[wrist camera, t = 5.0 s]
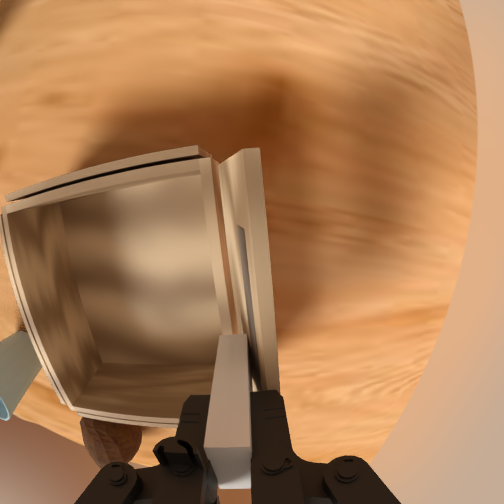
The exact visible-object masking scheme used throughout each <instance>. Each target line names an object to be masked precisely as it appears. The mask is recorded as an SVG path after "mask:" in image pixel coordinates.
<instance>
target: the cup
mask: <svg viewBox="0 0 504 504" xmlns="http://www.w3.org/2000/svg"><path fill="white" fill-rule="evenodd" d="M41 368H42V364H41V362H40V360H39V358H38V356H37V353H36V351H35V349H34V346H33V344H32V342H31V339H30V337H29V334H28V333H27V332H25V331H18V332H16V333H14V334H13V335H11V336H9V337H7V338H6V339H4V340H2V341H1V342H0V419H2V420H9V419H10V417H11V415H12V414H13V412H14V410H15V408H16V407H17V405H18V403H19V402H20V400H21V399H22V397H23V395H24V394H25V392H26V391H27V389H28V388H29V386H30V384H31V383H32V381H33V380H34V378H35V377H36V375H37V374H38V372H39V371H40V369H41Z"/></svg>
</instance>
